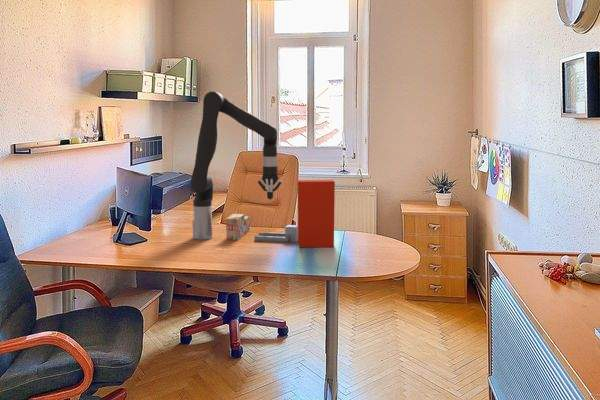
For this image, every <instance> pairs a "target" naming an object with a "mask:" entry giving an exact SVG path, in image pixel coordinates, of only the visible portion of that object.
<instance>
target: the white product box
mask: <svg viewBox="0 0 600 400" xmlns="http://www.w3.org/2000/svg"><path fill="white" fill-rule="evenodd" d="M225 222H226V223H225V226H226V240H228V241H229V240H231V241H233V240H234V241H235V240H236V241H239V240H240V239H241V238H243V237H244V236H245V235H246V234H247V233H249V232H250V217H249V216H247V215H245V214H244V213H232V214H231V215H229V216H228V217H226V219H225Z"/></svg>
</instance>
